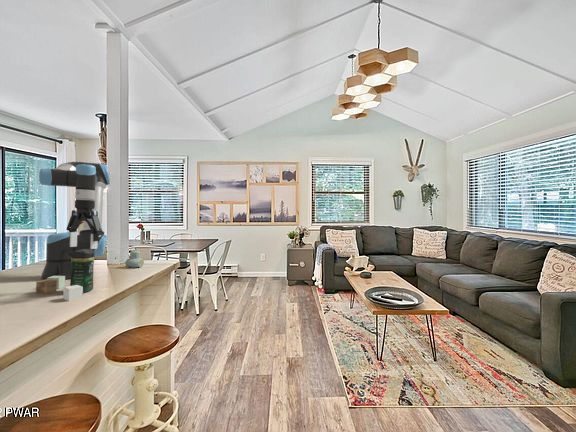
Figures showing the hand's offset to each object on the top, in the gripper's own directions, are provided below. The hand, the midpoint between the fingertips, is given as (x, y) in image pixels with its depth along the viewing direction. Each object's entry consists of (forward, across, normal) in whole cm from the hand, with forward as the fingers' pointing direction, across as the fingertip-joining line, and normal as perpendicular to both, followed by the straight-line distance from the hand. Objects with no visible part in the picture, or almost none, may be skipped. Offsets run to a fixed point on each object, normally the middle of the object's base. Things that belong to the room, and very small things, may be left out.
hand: (83, 247), depth 147 cm
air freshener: (+19, -30, +55) cm, 66 cm away
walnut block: (+19, -10, -9) cm, 24 cm away
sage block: (+19, -15, -2) cm, 25 cm away
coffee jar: (+20, 0, 0) cm, 20 cm away
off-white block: (+20, +9, -10) cm, 23 cm away
